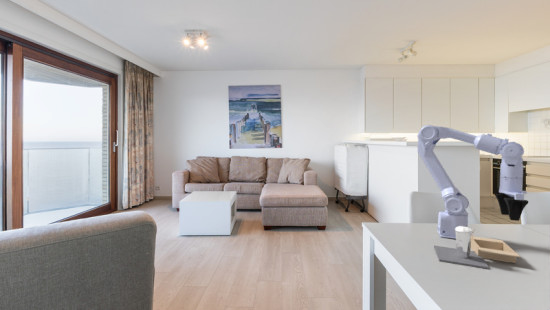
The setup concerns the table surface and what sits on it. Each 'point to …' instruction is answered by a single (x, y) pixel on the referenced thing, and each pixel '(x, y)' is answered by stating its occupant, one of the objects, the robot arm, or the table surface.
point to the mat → (451, 257)
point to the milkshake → (463, 241)
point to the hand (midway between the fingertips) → (509, 217)
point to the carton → (493, 249)
